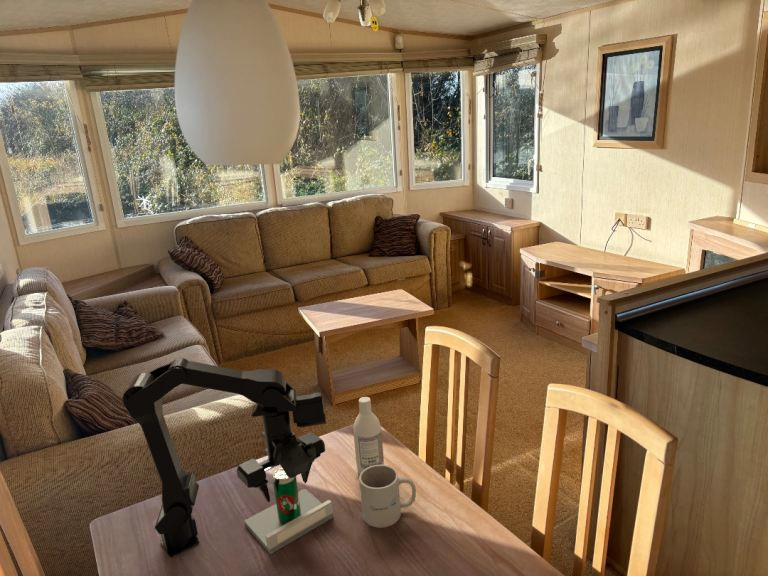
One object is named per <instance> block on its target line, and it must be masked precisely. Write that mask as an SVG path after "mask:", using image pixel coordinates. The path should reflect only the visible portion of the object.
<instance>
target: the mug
mask: <svg viewBox="0 0 768 576" xmlns="http://www.w3.org/2000/svg"><path fill="white" fill-rule="evenodd" d="M398 473H399V472H398V471H397V470H396V468H394V467H393V466H390V465H387V464H384V465H373V466H370V467H368V468H366V469H364V470H363V471H362V472H361V474H359V478H358V479H359V489H360V500H361V510H362V511H361V512H362V518H363V521H364V523H366V524H367V525H369V526H371V527H373V528H387V527H390V526H392V525H394V524H396V523H397V522H398V521H399V520H400V518H401V514H402V512H401V511H402V510H401V509H402V508H407V507H410V506H412V505H413V504H414V502H415V500H416V496H417V489H416V484H415V483H414V480H413V479H411V478H409V477H407V476H405V477H403V476H402V477H399V474H398ZM401 484H409V485H410V487H411V492H412V493H411V497H409V499H408V500H405V501H404V500H403V501H402V500H401V496H400V485H401Z"/></svg>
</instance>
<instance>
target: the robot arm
mask: <svg viewBox="0 0 768 576" xmlns="http://www.w3.org/2000/svg"><path fill="white" fill-rule="evenodd" d="M180 385H186V386H192V387H197V388H203V389H208V390H214V391H219V392H225V393H231V394H235V395H239V396H242V397H244V398H246V399H247V400H248V401H250V402H252V403H255V404H254V405H253V406H252V408H251V409H252V410H251V417H252V418H255V417H261V419H262V425H263V432H262V433H261V435H262V438H263V439H265V445H266V448H265V449H264V454H266V455H267V459H265V460H263V461H261V462H258V461H257V460H256V459H255V458H251V459H249V460H246V461H244V462H243V463H240V464H239V465H237V468H236V473H237V474H236V475H237V478H238V479H239V480H240V481H241V482H242V483H243V484H244V485H245V486H246V487H247V488H250V489H253V488H255V489H257V488H258V490H259V491H260V493H261V494H262V496H263V498H264V499H265V500H266V502H267V503H270V502H271V496H270V492H269V488H268V483H269V480H268V479H266V478H267V474H266V472H267V471H270V470H272V469H274V468H276V467H278V466H280V467H281V468H283V470H284V471H285V473H286V475H287V476H288V477H289V478H294V477H296V478H297V476H299V475H300V476H301V479H302V482H303V483H304V484H306V483H308V479H309V475H310V472H311V468H312V465H313V463H314V462H315V460H317V459H319V458H320V457H321V454H323V453H325V451H326V445H325V444H326V443H325V441H324V440H323V439H322V438H320V437H319V436H318V435H316V434H315V433H314V432H311V431H309V432H308V433H305V434H303V435H301V436H299V437H296V433H295V432H293V430H292V429H293V427H292V423H291V422H293V424H294V425H295V424H296V428H300V429H301V428H308V427H314V426H321V425H326V424H327V420H326V412H325V404H324V400H323V396H322V394H323V393H322V392H321V391H318V392H317V391H316V392H313V393H310V394H303V395H297V390H296V389H295V388H293V386H292V385H291V384H289V383H288V382H287V381H286V378H285V376H284V375H283V373H282V371H279V370H277V369H269V368H268V369H263V368H262V369H261V368H260V369H258V368H257V369H253V370H239V369H234V368H229V367H224V366H219V365H214V364H213V365H212V364H208V363H202V362H198V361H193V360H188V359H186V358H183V357H178V358H175V359H174V360H172V361H171V362H169V363H166V364H164V365H160V366H158V367H156V368H155V369H153V370H151V371H149V372H141V373H139V374H137V375H135V376H134V377H133V378H132V380H131V381H130V383H129V385H128V386H127V388H126V390H125V391H124V393H123V395H122V399H121V400H122V405H123V406H124V408H125V411H127V412H128V415H129V416H130V418H131V419H132V420H134V422H136V423H137V424H139V426H140V428H141V429H142V432H143V436H144V438H145V441H146V444H147V446H148V450H149V452H150V454H151V458H152V460H153V463H154V467H155V469H156V470H157V473H158V474H157V475H158V476H159V480H160V481H161V502H162V503H161V504H162V505H161V508H160V510H159V514H158V516H157V519H156V523H155V526H154V529H155V530H156V532H157V533H158V534H159V535H160V538H161V539H160V544H161V546H162V547H163V549H164V551H165V552H166V554H167V556H168V557H169V558H173V557H175V556H177V555H179V554H181V553H182V552H184V551H186V550H189V549H190V548H192V547H194V546H196V545H197V544H199V543H200V539H199V537H197V536H198V535H199V532H198V528H197V522H196V518H194V517H193V515H192V514H193V510H194V506H195V505H196V501H197V495H198V491H199V487H200V485H199V483H198V482H197V481H196V475H195V472H190V473H187V472H185V471H184V469H183V468H182V465H181V463H180V459H179V456H178V455H177V451H176V448H175V445H174V443H173V439H172V437H171V434H170V430H169V428H168V425H167V423H166V419H165V416H164V412H163V398H164V396H166V395H168V393H170V392H171V391H172V390H174V389H175V388H177V387H178V386H180ZM290 412H292V420H293V421H291V414H290Z"/></svg>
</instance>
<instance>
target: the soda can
mask: <svg viewBox="0 0 768 576" xmlns="http://www.w3.org/2000/svg"><path fill="white" fill-rule="evenodd" d="M297 481H298V480H297V476H296V477H294V478H289V477H288V476H287V475H286V473H285V471H284V470H283V468H282V467H281V468H278V469H276V470H275V471H274V473H273V477H272V485H273V486H272V487H273V493H274V499H275V504H276V506H277V513H278V519H279V522H280V523H282V524H284V525H285V524H287V523H288V522H290V521H292V520H294V519H296V518H297V517H299V516H301V509H300V502H299V495H298V492H299V487H298V482H297Z"/></svg>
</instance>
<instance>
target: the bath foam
mask: <svg viewBox="0 0 768 576" xmlns="http://www.w3.org/2000/svg"><path fill="white" fill-rule="evenodd" d="M358 409H359V410H358V411H359V414H358V415H356V416H357V417H356V418H355V420H354V421H353V429H352V431H353V432H352V433H353V440H354V441H353V442H354V452H355V460H356V470H357V472H358V474H359V475H360V474H361V472H362V471H363V470H364V469H366V468H368V467H370V466H373V465H385V459H384V447H383V446H384V445H383V435H382V426H381V422H380V420H379V418H378V416H376V414H374V412H373V411H372V401H371V398H370V397H369V396H362V397H360V398H359V399H358Z"/></svg>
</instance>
